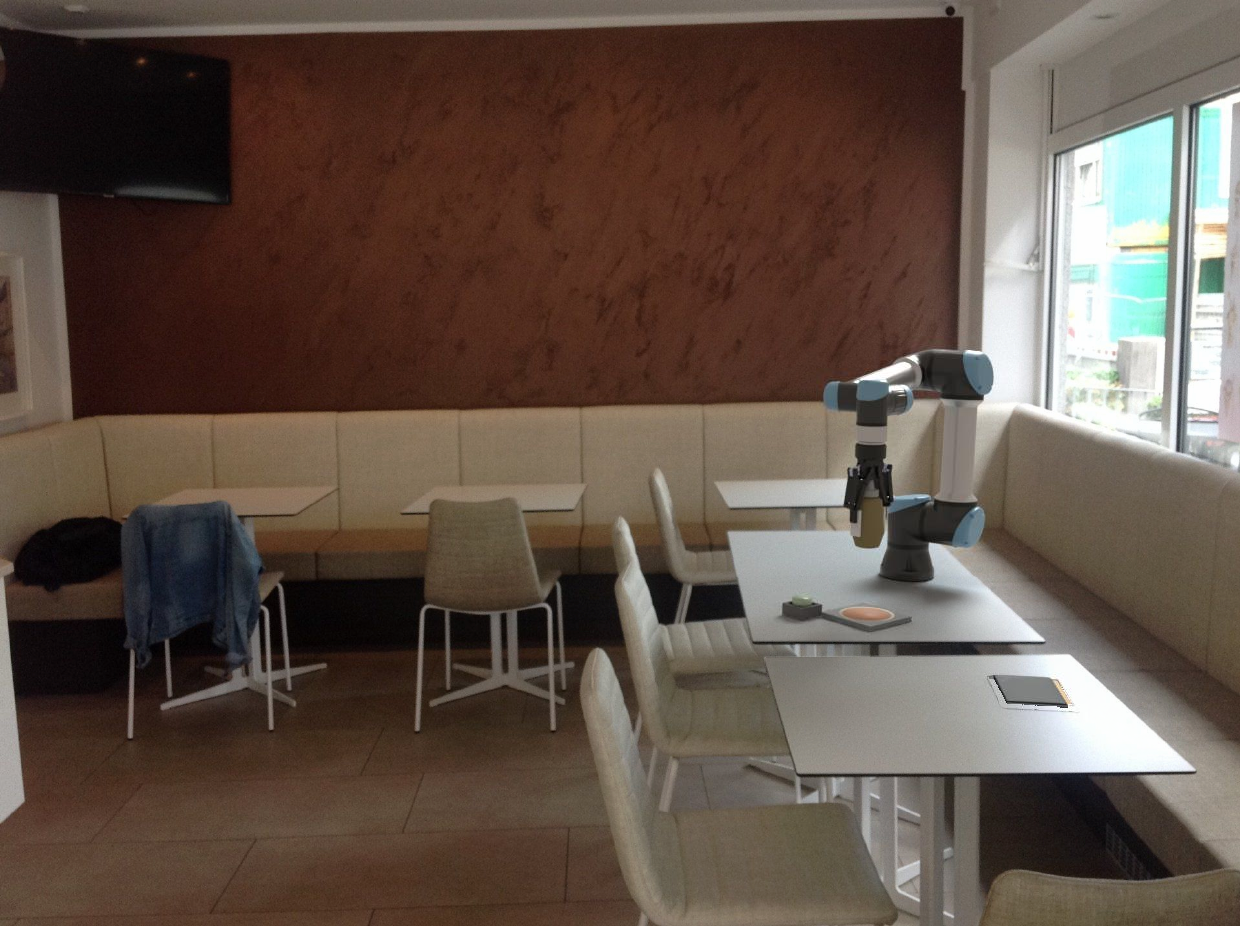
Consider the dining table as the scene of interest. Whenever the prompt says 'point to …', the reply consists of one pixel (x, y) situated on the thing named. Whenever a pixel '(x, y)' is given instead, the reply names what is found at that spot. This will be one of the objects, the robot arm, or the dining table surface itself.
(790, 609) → the button housing
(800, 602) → the button
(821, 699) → the dining table surface
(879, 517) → the squeeze bottle
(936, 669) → the dining table surface
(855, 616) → the print board
